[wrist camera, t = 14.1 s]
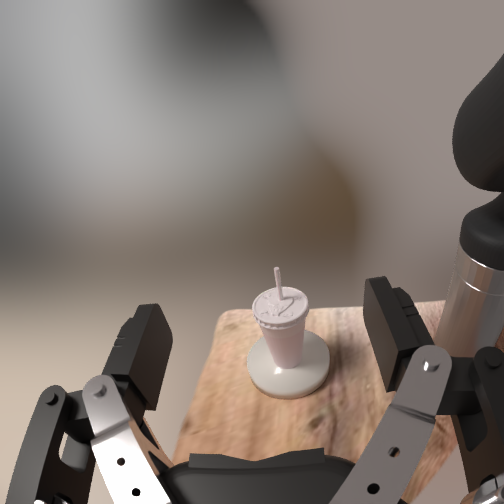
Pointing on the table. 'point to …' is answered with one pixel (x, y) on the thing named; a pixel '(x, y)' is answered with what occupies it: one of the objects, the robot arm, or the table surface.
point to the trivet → (289, 380)
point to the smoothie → (282, 322)
